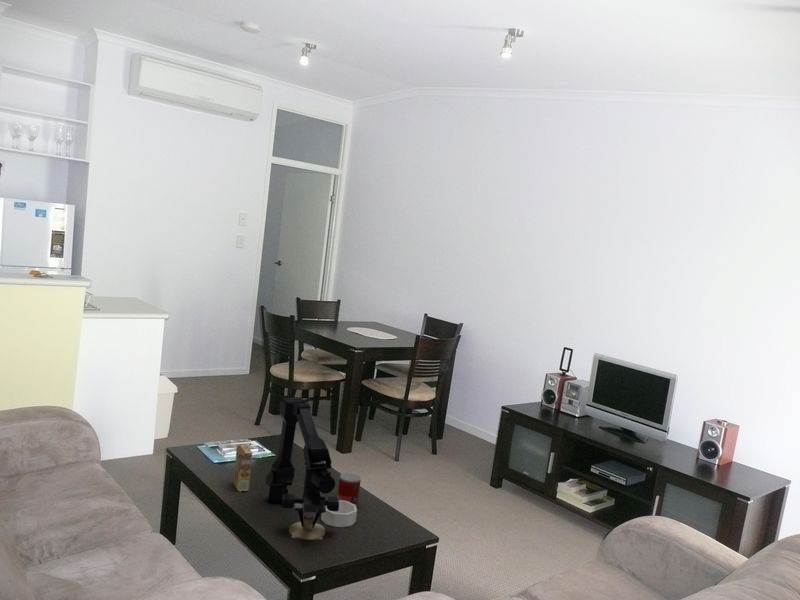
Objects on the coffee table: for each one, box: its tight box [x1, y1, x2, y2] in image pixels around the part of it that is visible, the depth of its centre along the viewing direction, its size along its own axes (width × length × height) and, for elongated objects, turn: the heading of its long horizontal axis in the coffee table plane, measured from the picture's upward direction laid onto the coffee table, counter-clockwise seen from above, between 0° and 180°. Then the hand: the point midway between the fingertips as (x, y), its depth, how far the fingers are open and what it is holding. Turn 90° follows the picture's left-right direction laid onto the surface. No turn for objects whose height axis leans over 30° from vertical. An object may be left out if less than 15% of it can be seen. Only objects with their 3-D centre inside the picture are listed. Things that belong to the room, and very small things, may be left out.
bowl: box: [320, 500, 358, 528], centre depth 240 cm, size 12×12×5 cm
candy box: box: [233, 444, 253, 493], centre depth 258 cm, size 9×4×15 cm, turn 27°
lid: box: [288, 515, 326, 541], centre depth 228 cm, size 12×12×5 cm
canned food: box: [336, 472, 362, 508], centre depth 254 cm, size 8×8×11 cm
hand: (307, 526), depth 228 cm, fingers closed on lid, 3 cm apart
